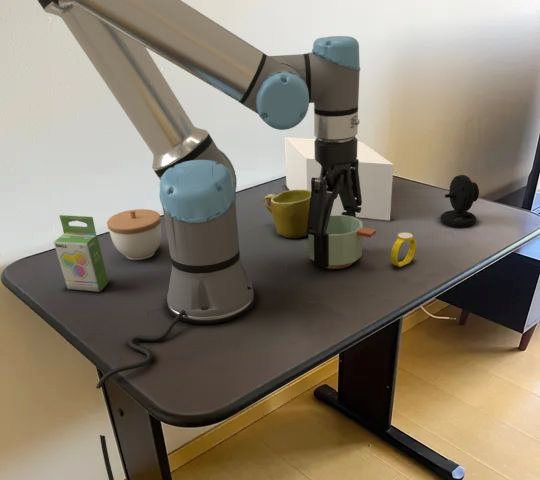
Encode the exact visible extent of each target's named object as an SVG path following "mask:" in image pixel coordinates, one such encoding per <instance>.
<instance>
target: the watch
mask: <svg viewBox="0 0 540 480" xmlns="http://www.w3.org/2000/svg"><path fill="white" fill-rule="evenodd" d="M404 242H409V246H408V247H409V248H408V251H407V254H406V256H405V257H404V259H403V260H401V261H399V260H398V256H399V251H400V249H401V246H402V245H403V243H404ZM416 251H417V241H416V239H415V237H414V235H413V234H412V233H410V232H399V233H398V234H397V239H396V241H394V244H393V245H392V248H391V252H390V261H391V263H392V264H393V266H394V267H395V266H396V267H398V268H401V267H404V266H406V265H408V264H411V262H412V260H413V259H414V257H415V254H416Z"/></svg>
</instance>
